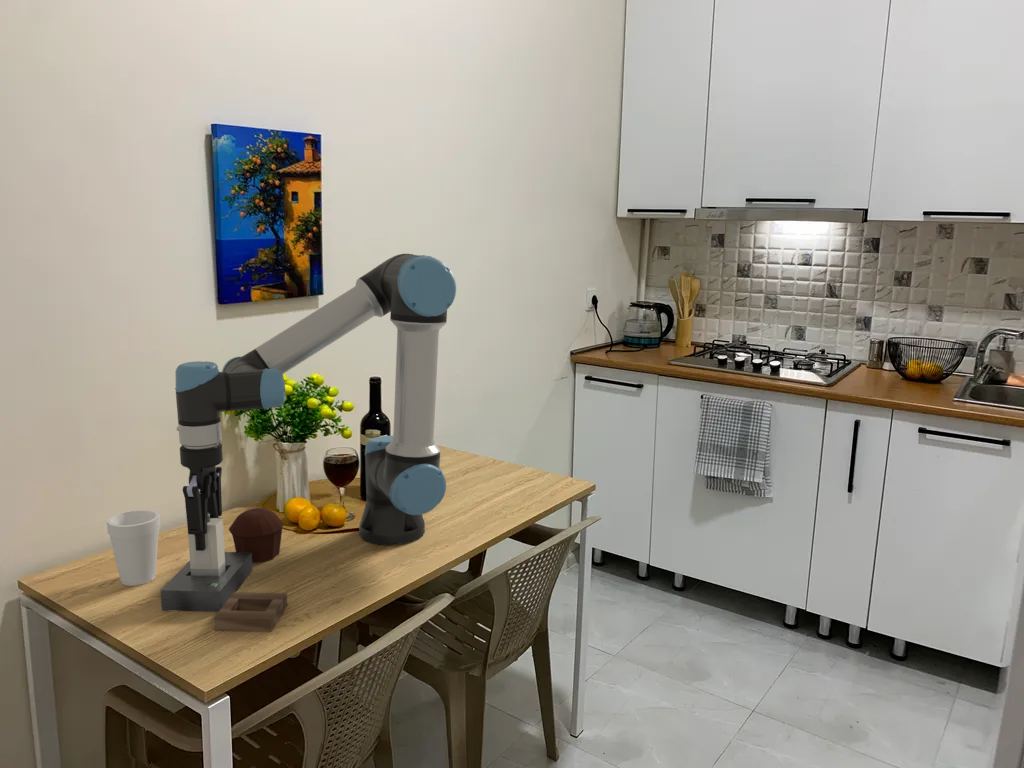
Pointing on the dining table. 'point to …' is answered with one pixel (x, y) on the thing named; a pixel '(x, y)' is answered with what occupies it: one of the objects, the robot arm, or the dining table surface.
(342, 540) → the dining table surface
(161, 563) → the dining table surface
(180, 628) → the dining table surface
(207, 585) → the switch box
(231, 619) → the brown wooden square frame
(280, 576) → the dining table surface
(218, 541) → the plug
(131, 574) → the foam cup
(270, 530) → the muffin
